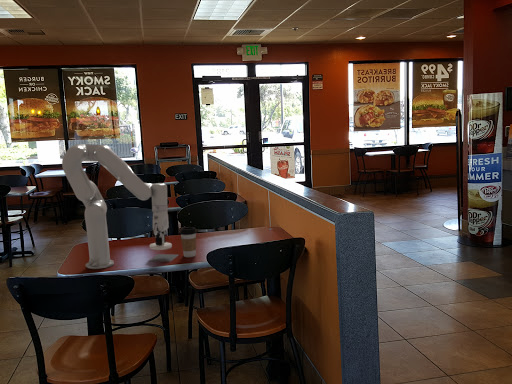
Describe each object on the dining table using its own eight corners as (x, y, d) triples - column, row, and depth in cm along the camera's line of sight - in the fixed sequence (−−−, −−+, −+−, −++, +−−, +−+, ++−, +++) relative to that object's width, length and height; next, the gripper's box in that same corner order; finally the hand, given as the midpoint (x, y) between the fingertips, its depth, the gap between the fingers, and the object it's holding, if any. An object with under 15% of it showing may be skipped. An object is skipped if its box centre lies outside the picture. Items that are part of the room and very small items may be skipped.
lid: (166, 250, 232) (166, 237, 231) (145, 249, 234) (145, 236, 234) (175, 245, 243) (174, 232, 242) (155, 243, 245) (154, 231, 244)
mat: (170, 262, 233) (170, 261, 233) (148, 262, 235) (148, 260, 235) (179, 255, 245) (179, 254, 244) (157, 255, 247) (157, 254, 247)
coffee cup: (182, 259, 237) (180, 230, 235) (180, 255, 246) (179, 226, 243) (198, 257, 239) (197, 228, 237) (197, 253, 247) (195, 225, 245)
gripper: (160, 211, 227) (161, 248, 230) (173, 205, 243) (173, 240, 246) (145, 210, 229) (146, 247, 231) (159, 205, 245) (160, 239, 247)
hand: (160, 243), depth 238 cm, fingers closed on lid, 3 cm apart
